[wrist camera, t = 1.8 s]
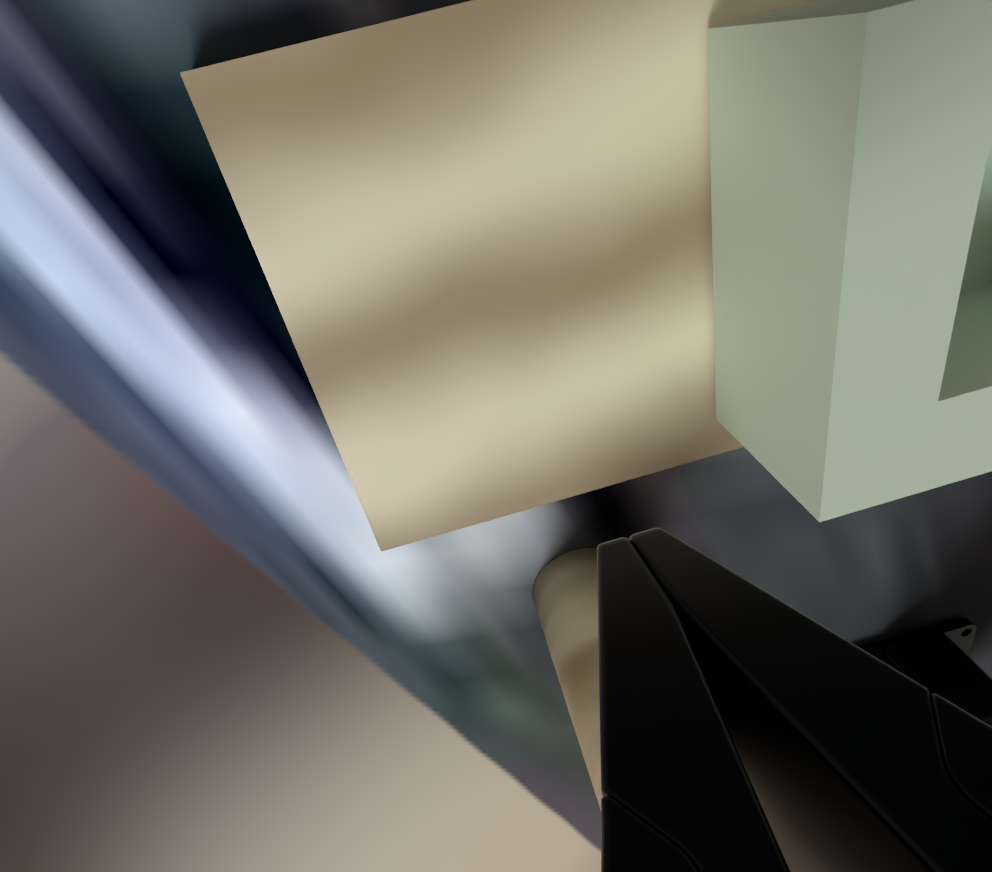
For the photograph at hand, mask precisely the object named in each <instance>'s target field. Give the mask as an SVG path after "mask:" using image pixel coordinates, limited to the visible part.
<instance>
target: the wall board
mask: <svg viewBox="0 0 992 872" xmlns="http://www.w3.org/2000/svg"><path fill="white" fill-rule="evenodd" d="M815 1H819V0H471V1H467V2H463V3H459V4H455V5H451V6H447V7H443V8H439V9H435V10H431V11H427V12H423V13H419V14H415V15H411V16H407V17H403V18H399V19H395V20H391V21H387V22H383V23H379V24H375V25H371V26H366V27H362V28H358V29H354V30H350V31H346V32H342V33H338V34H334V35H330V36H326V37H322V38H318V39H314V40H310V41H306V42H302V43H298V44H294V45H290V46H286V47H282V48H278V49H274V50H270V51H266V52H262V53H258V54H254V55H250V56H246V57H242V58H238V59H234V60H230V61H226V62H221V63H217V64H213V65H209V66H205V67H201V68H197V69H193V70H189V71H185V72H181V73H180V74H181V77H182V79H183V81H184V84H185V86H186V89H187V91H188V93H189V96H190V98H191V100H192V103H193V105H194V108H195V110H196V112H197V115H198V117H199V119H200V122H201V124H202V127H203V129H204V131H205V134H206V136H207V138H208V141H209V143H210V146H211V148H212V150H213V153H214V155H215V157H216V160H217V162H218V165H219V167H220V169H221V172H222V174H223V176H224V179H225V181H226V184H227V186H228V188H229V191H230V193H231V195H232V198H233V200H234V203H235V205H236V207H237V210H238V212H239V215H240V217H241V219H242V222H243V224H244V226H245V229H246V231H247V234H248V236H249V238H250V241H251V243H252V245H253V248H254V250H255V253H256V255H257V257H258V260H259V262H260V264H261V267H262V269H263V272H264V274H265V276H266V279H267V281H268V283H269V286H270V288H271V291H272V293H273V295H274V298H275V300H276V302H277V305H278V307H279V310H280V312H281V314H282V317H283V319H284V321H285V324H286V326H287V329H288V331H289V333H290V336H291V338H292V340H293V343H294V345H295V348H296V350H297V352H298V355H299V357H300V359H301V362H302V364H303V367H304V369H305V371H306V374H307V376H308V378H309V381H310V383H311V386H312V388H313V390H314V393H315V395H316V397H317V400H318V402H319V405H320V407H321V409H322V412H323V414H324V417H325V419H326V421H327V424H328V426H329V428H330V431H331V433H332V436H333V438H334V440H335V443H336V445H337V447H338V450H339V452H340V455H341V457H342V459H343V462H344V464H345V466H346V469H347V471H348V474H349V476H350V478H351V481H352V483H353V485H354V488H355V490H356V493H357V495H358V497H359V500H360V502H361V504H362V507H363V509H364V512H365V514H366V516H367V519H368V521H369V523H370V526H371V528H372V531H373V533H374V535H375V538H376V540H377V542H378V545H379V547H380V550H381V551H385V550H388V549H392V548H395V547H399V546H402V545H405V544H409V543H412V542H416V541H419V540H423V539H426V538H430V537H433V536H437V535H440V534H444V533H447V532H451V531H454V530H457V529H461V528H464V527H468V526H471V525H475V524H478V523H482V522H485V521H489V520H492V519H496V518H499V517H503V516H506V515H509V514H513V513H516V512H520V511H523V510H527V509H530V508H534V507H537V506H541V505H544V504H548V503H551V502H554V501H558V500H561V499H565V498H568V497H572V496H575V495H579V494H582V493H586V492H589V491H593V490H596V489H600V488H603V487H606V486H610V485H613V484H617V483H620V482H624V481H627V480H631V479H634V478H638V477H641V476H645V475H648V474H652V473H655V472H658V471H662V470H665V469H669V468H672V467H676V466H679V465H683V464H686V463H690V462H693V461H697V460H700V459H704V458H707V457H710V456H714V455H717V454H721V453H724V452H728V451H731V450H735V449H738V448H742V447H744V446H743V445H742V444H741V443H740V442H739V441H738V440H737V439H736V438H735V437H734V436H733V435H732V434H731V433H730V432H729V431H728V430H727V429H726V428H725V427H724V426H723V425H722V424H721V423H720V422H719V421H718V420H717V419H716V398H715V352H714V307H713V261H712V216H711V170H710V125H709V79H708V34H707V29H709V28H713V27H717V26H720V25H724V24H728V23H732V22H736V21H740V20H744V19H748V18H752V17H756V16H760V15H764V14H768V13H771V12H775V11H779V10H783V9H787V8H791V7H795V6H799V5H803V4H807V3H811V2H815Z"/></svg>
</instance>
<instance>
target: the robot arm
mask: <svg viewBox="0 0 992 872" xmlns="http://www.w3.org/2000/svg"><path fill="white" fill-rule="evenodd" d="M597 594H598V646H599V699H600V751H601V792H602V796H603V797H602V799H601V825H602V859H601V861H602V862H601V872H992V679H991V678H990V677H989V676H988V675H987V674H986V673H985V672H984V671H983V670H982V669H981V668H980V667H979V666H978V665H977V664H976V663H975V662H974V661H973V660H972V659H971V658H970V657H969V653H970V650H971V646H972V643H973V640H974V637H975V634H976V630H977V627H976V625H975V624H973V623H972V622H971V621H970V620H969V619H968V618H962V619H959V620H955V621H952V622H949V623H946V624H942V625H939V626H936V627H933V628H929V629H926V630H923V631H920V632H916V633H913V634H910V635H907V636H903V637H900V638H897V639H894V640H890V641H887V642H884V643H881V644H877V645H874V646H871V647H868V648H864V649H861V648H859V647H858V646H856V645H854V644H853V643H851V642H849V641H848V640H846V639H844V638H843V637H841V636H839V635H838V634H836V633H835V632H833V631H831V630H830V629H828V628H826V627H825V626H823V625H821V624H820V623H818V622H816V621H815V620H813V619H811V618H810V617H808V616H806V615H805V614H803V613H801V612H800V611H798V610H796V609H795V608H793V607H791V606H790V605H788V604H786V603H785V602H783V601H781V600H780V599H778V598H776V597H775V596H773V595H771V594H770V593H768V592H766V591H765V590H763V589H762V588H760V587H758V586H757V585H755V584H753V583H752V582H750V581H748V580H747V579H745V578H743V577H742V576H740V575H738V574H737V573H735V572H733V571H732V570H730V569H728V568H727V567H725V566H723V565H722V564H720V563H718V562H717V561H715V560H713V559H712V558H710V557H708V556H707V555H705V554H703V553H702V552H700V551H698V550H697V549H695V548H693V547H692V546H690V545H689V544H687V543H685V542H684V541H682V540H680V539H679V538H677V537H675V536H674V535H672V534H670V533H669V532H667V531H665V530H663V529H661V528H652V529H649V530H645V531H642V532H638V533H635V534H632V535H631V536H630V537H629V539H627V538H625V537H621V538H618V539H614V540H611V541H607V542H604V543H601V544H599V545H598V547H597Z"/></svg>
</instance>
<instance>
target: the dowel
mask: <svg viewBox="0 0 992 872" xmlns="http://www.w3.org/2000/svg"><path fill="white" fill-rule="evenodd" d="M532 596H533V601H534V604H535V607H536V610H537V613H538V616H539V619H540V623H541V626H542V629H543V632H544V635H545V638H546V641H547V644H548V647H549V651H550V654H551V657H552V660H553V663H554V666H555V669H556V672H557V675H558V678H559V682H560V685H561V688H562V691H563V694H564V697H565V700H566V703H567V706H568V710H569V713H570V716H571V719H572V722H573V725H574V728H575V731H576V734H577V737H578V741H579V744H580V747H581V750H582V753H583V756H584V759H585V762H586V765H587V769H588V772H589V775H590V778H591V781H592V784H593V787H594V790H595V793H596V796H597V800H598V803H599V806H600V809H601V799H602V797H603V796H602V792H601V751H600V699H599V646H598V594H597V548H581V549H576V550H572V551H569V552H567V553H564V554H562V555H560V556H558V557H557V558H555V559H554V560H552V561H551V562H550V563H548V564H547V565H546V566H545V567H544V568H543V569H542V570H541V572H540V573H539V575H538V576H537V578H536V580H535V582H534V585H533V590H532Z"/></svg>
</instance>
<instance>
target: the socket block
mask: <svg viewBox="0 0 992 872" xmlns="http://www.w3.org/2000/svg"><path fill="white" fill-rule="evenodd" d="M707 34H708V79H709V125H710V170H711V216H712V261H713V307H714V352H715V398H716V419H717V420H718V421H719V422H720V423H721V424H722V425H723V426H724V427H725V428H726V429H727V430H728V431H729V432H730V433H731V434H732V435H733V436H734V437H735V438H736V439H737V440H738V441H739V442H740V443H741V444H742V445H743V446H744V447H745V448H746V449H747V450H748V451H749V452H750V453H751V454H752V455H753V456H754V457H755V458H756V459H757V460H758V461H759V462H760V463H761V464H762V465H763V466H764V467H765V468H766V469H767V470H768V471H769V472H770V473H771V474H772V475H773V476H774V477H775V478H776V479H777V480H778V481H779V482H780V483H781V484H782V485H783V486H784V487H785V488H786V489H787V490H788V491H789V492H790V493H791V494H792V495H793V496H794V497H795V498H796V499H797V500H798V501H799V502H800V503H801V504H802V505H803V506H804V507H805V508H806V509H807V510H808V511H809V512H810V513H811V514H812V515H813V516H814V517H815V518H816V519H817V520H818V521H819V522H822V521H825V520H829V519H832V518H835V517H839V516H842V515H845V514H849V513H852V512H856V511H859V510H862V509H866V508H869V507H872V506H876V505H879V504H883V503H886V502H889V501H893V500H896V499H900V498H903V497H906V496H910V495H913V494H916V493H920V492H923V491H927V490H930V489H933V488H937V487H940V486H943V485H947V484H950V483H954V482H957V481H960V480H964V479H967V478H970V477H974V476H977V475H981V474H984V473H987V472H991V471H992V0H819V1H815V2H811V3H807V4H803V5H799V6H795V7H791V8H787V9H783V10H779V11H775V12H771V13H768V14H764V15H760V16H756V17H752V18H748V19H744V20H740V21H736V22H732V23H728V24H724V25H720V26H717V27H713V28H709V29H707Z"/></svg>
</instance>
